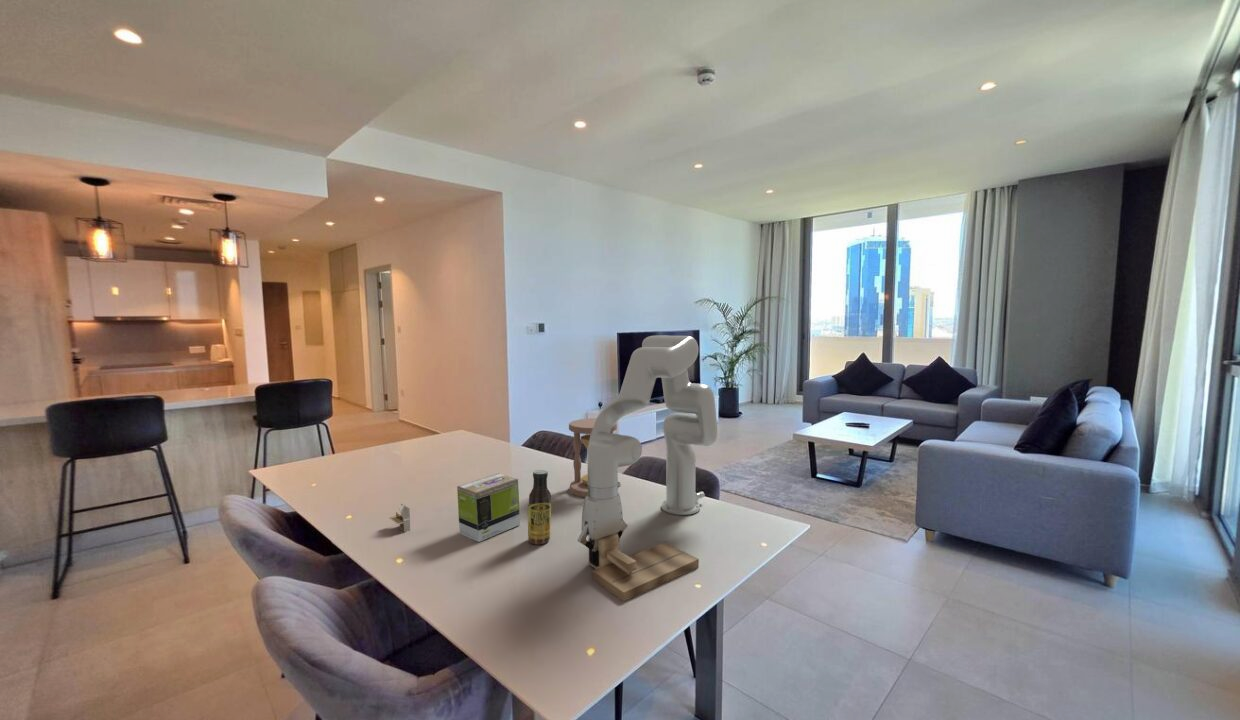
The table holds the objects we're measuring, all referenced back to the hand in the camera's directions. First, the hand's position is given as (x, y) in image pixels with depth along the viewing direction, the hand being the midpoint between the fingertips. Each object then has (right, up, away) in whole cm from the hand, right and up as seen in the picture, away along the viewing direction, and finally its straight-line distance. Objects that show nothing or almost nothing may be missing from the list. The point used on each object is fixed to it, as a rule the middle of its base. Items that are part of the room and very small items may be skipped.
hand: (603, 560), depth 121 cm
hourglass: (-6, +2, +56) cm, 56 cm away
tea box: (-35, 0, +22) cm, 41 cm away
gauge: (+3, -2, -3) cm, 4 cm away
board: (+11, -2, -3) cm, 11 cm away
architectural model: (-61, -1, +23) cm, 65 cm away
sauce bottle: (-18, -1, +14) cm, 23 cm away
